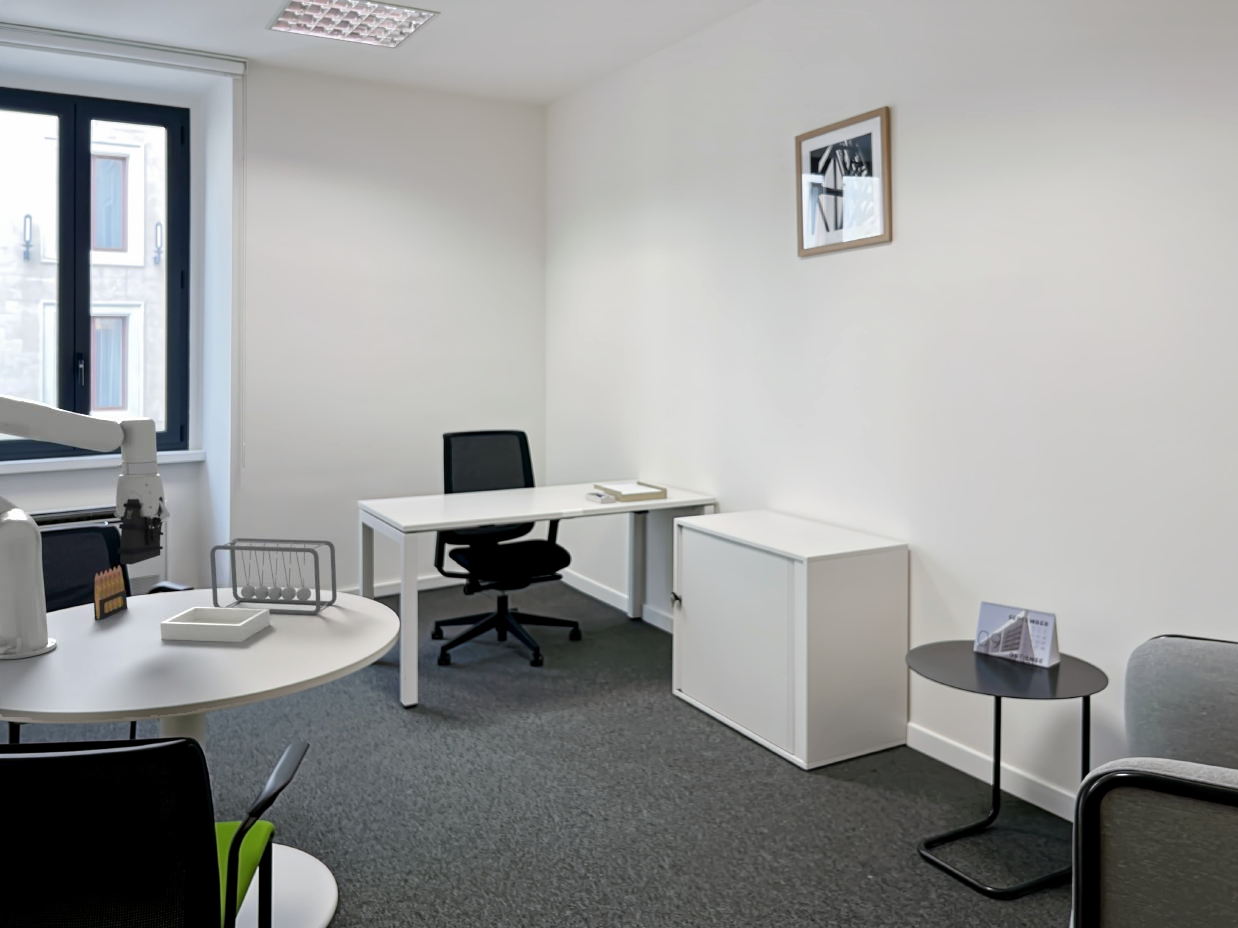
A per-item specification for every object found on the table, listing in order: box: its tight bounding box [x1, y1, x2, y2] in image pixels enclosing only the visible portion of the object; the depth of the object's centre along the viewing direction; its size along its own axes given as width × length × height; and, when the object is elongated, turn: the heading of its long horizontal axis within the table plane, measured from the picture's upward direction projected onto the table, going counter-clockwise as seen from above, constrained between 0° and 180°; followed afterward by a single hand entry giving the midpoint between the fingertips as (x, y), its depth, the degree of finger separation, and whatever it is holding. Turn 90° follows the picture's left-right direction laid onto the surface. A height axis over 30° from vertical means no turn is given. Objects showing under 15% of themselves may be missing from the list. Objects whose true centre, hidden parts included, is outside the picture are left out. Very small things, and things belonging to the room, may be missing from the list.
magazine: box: [117, 499, 167, 565], centre depth 220 cm, size 4×13×15 cm, turn 172°
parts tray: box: [160, 606, 271, 643], centre depth 222 cm, size 14×20×4 cm
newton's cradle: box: [209, 537, 337, 616], centre depth 242 cm, size 30×10×18 cm, turn 82°
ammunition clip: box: [93, 564, 128, 621], centre depth 237 cm, size 11×2×12 cm, turn 174°
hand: (143, 543), depth 221 cm, fingers closed on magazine, 3 cm apart
